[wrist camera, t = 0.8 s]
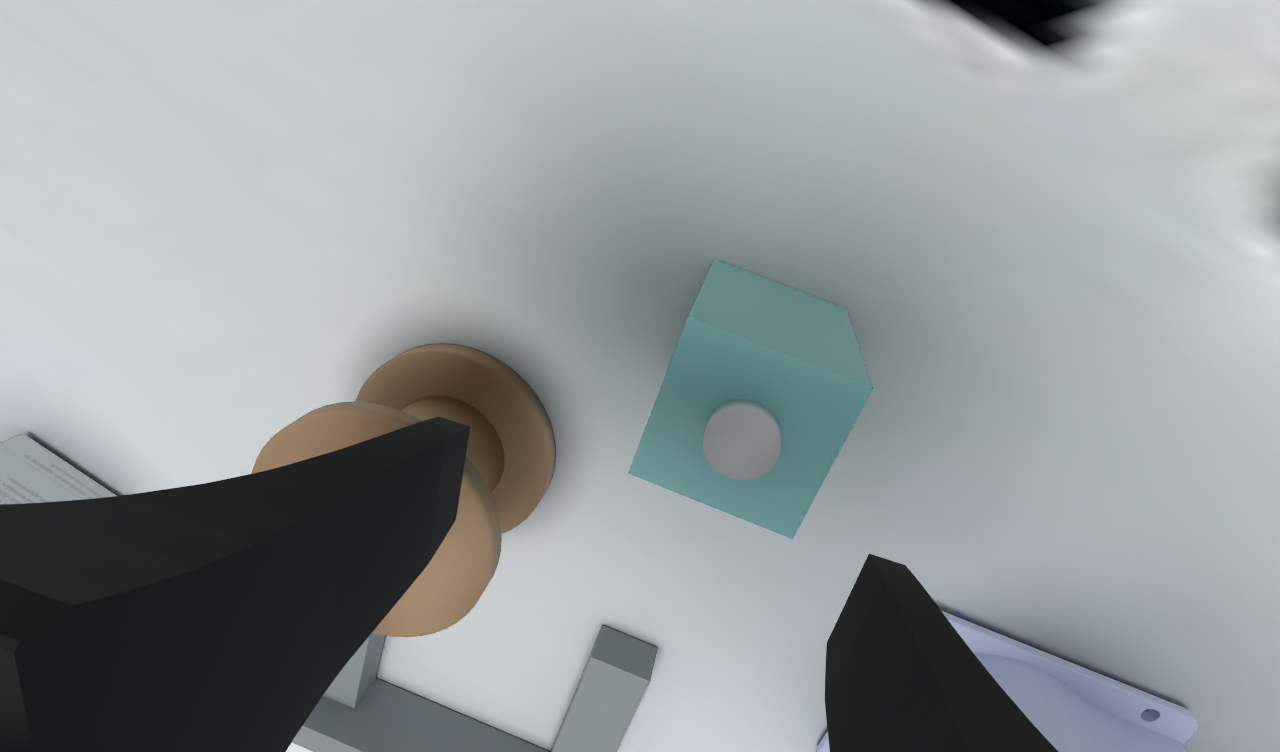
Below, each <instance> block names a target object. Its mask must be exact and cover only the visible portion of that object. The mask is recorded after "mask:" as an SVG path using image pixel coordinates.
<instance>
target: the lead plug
mask: <svg viewBox="0 0 1280 752" xmlns="http://www.w3.org/2000/svg"><path fill="white" fill-rule="evenodd" d="M872 389H873V387H872V384H871V381H870V378H869V375H868V372H867V369H866V366H865V363H864V360H863V357H862V354H861V351H860V348H859V345H858V342H857V339H856V336H855V333H854V330H853V327H852V324H851V321H850V318H849V315H848V312H847V309H846V308H844V307H841V306H838V305H836V304H833V303H830V302H828V301H825V300H823V299H820V298H817V297H815V296H812V295H809V294H807V293H804V292H801V291H799V290H796V289H793V288H791V287H788V286H786V285H783V284H780V283H778V282H775V281H772V280H770V279H767V278H764V277H762V276H759V275H756V274H754V273H751V272H749V271H746V270H743V269H741V268H738V267H735V266H733V265H730V264H727V263H725V262H722V261H719V260H717V259H714V261H713V263H712V265H711V267H710V269H709V272H708V274H707V276H706V278H705V280H704V283H703V285H702V287H701V289H700V291H699V294H698V296H697V298H696V300H695V302H694V305H693V307H692V309H691V311H690V313H689V316H688V318H687V321H686V323H685V326H684V328H683V331H682V334H681V336H680V339H679V342H678V344H677V347H676V349H675V352H674V355H673V357H672V360H671V362H670V365H669V368H668V370H667V373H666V376H665V378H664V381H663V383H662V386H661V389H660V391H659V394H658V397H657V399H656V402H655V404H654V407H653V410H652V412H651V415H650V417H649V420H648V423H647V425H646V428H645V431H644V433H643V436H642V438H641V441H640V444H639V446H638V449H637V452H636V454H635V457H634V459H633V462H632V465H631V467H630V470H629V472H628V473H629V474H632V475H634V476H637V477H639V478H642V479H644V480H647V481H649V482H652V483H654V484H657V485H659V486H662V487H664V488H667V489H669V490H672V491H674V492H677V493H679V494H682V495H684V496H687V497H689V498H692V499H694V500H697V501H699V502H702V503H704V504H707V505H709V506H712V507H714V508H717V509H719V510H722V511H724V512H727V513H729V514H732V515H734V516H737V517H739V518H742V519H744V520H747V521H749V522H752V523H754V524H757V525H759V526H762V527H764V528H767V529H769V530H772V531H774V532H777V533H779V534H782V535H784V536H787V537H789V538H792V539H793V537H794V535H795V533H796V532H797V530H798V528H799V526H800V524H801V522H802V520H803V518H804V517H805V515H806V513H807V511H808V509H809V507H810V505H811V503H812V501H813V500H814V498H815V496H816V494H817V492H818V490H819V488H820V486H821V485H822V483H823V481H824V479H825V477H826V475H827V473H828V471H829V470H830V468H831V466H832V464H833V462H834V460H835V458H836V456H837V455H838V453H839V451H840V449H841V447H842V445H843V443H844V441H845V440H846V438H847V436H848V434H849V432H850V430H851V428H852V426H853V425H854V423H855V421H856V419H857V417H858V415H859V413H860V411H861V410H862V408H863V406H864V404H865V402H866V400H867V398H868V396H869V395H870V393H871V391H872Z"/></svg>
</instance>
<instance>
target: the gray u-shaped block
mask: <svg viewBox="0 0 1280 752" xmlns="http://www.w3.org/2000/svg"><path fill="white" fill-rule="evenodd" d="M385 636H386V635H379V634H375V633H371V635H370V636H369V637H368V638H367V639H366V641H365V642H364V643H363V644H362V645H361V647H360V648H359V649H358V650H357V651H356V653H355V654H354V655H353V656H352V657H351V659H350V660H349V661H348V662H347V664H346V665H345V666H344V667H343V669H342V670H341V671H340V673H339V674H338V675H337V677H336V678H335V679H334V681H333V682H332V683H331V685H330V686H329V687H328V689H327V690H326V692H325V693H324V695H323V696H322V698H321V699H320V701H319V702H318V704H317V705H316V707H315V708H314V709H313V711H312V712H311V714H310V715H309V717H308V718H307V720H306V721H305V723H304V724H303V726H302V727H301V729H300V730H299V732H298V733H297V735H296V736H295V738H294V739H293V741H292V743H295V744H297V745H299V746H302V747H304V748H306V749H309V750H311V751H313V752H549V751H547V750H544V749H542V748H540V747H537V746H535V745H533V744H530V743H528V742H525V741H523V740H521V739H518V738H516V737H514V736H511V735H509V734H507V733H504V732H502V731H500V730H497V729H495V728H493V727H490V726H488V725H485V724H483V723H481V722H478V721H476V720H474V719H471V718H469V717H467V716H464V715H462V714H460V713H457V712H455V711H453V710H450V709H448V708H445V707H443V706H441V705H438V704H436V703H434V702H431V701H429V700H427V699H424V698H422V697H420V696H417V695H415V694H413V693H410V692H408V691H405V690H403V689H401V688H398V687H396V686H394V685H391V684H389V683H387V682H384V681H382V680H380V679H377V678H376V676H377V672H378V667H379V663H380V658H381V654H382V649H383V645H384V641H385ZM656 652H657V647H655V646H652V645H650V644H647V643H645V642H643V641H640V640H638V639H635V638H633V637H631V636H628V635H626V634H623V633H621V632H618V631H616V630H614V629H611V628H609V627H606V626H604V625H602V627H601V630H600V632H599V634H598V637H597V639H596V642H595V644H594V647H593V649H592V652H591V654H590V656H589V659H588V661H587V664H586V666H585V669H584V671H583V674H582V676H581V678H580V681H579V683H578V686H577V688H576V691H575V693H574V696H573V698H572V701H571V703H570V705H569V708H568V710H567V713H566V715H565V718H564V720H563V723H562V725H561V727H560V730H559V732H558V735H557V737H556V740H555V742H554V745H553V747H552V749H551V752H617V750H618V748H619V745H620V743H621V741H622V739H623V737H624V735H625V733H626V731H627V728H628V726H629V724H630V722H631V720H632V718H633V716H634V714H635V712H636V709H637V707H638V705H639V703H640V701H641V699H642V697H643V695H644V693H645V690H646V688H647V686H648V684H649V682H650V678H651V674H652V670H653V665H654V661H655V657H656Z"/></svg>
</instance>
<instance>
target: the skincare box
mask: <svg viewBox="0 0 1280 752" xmlns="http://www.w3.org/2000/svg"><path fill="white" fill-rule="evenodd" d="M114 496H117V495H115V494H114V493H112V492H111V491H109V490H108V489H106V488H105V487H103V486H102V485H100V484H99V483H97V482H96V481H94V480H93V479H91V478H90V477H88V476H87V475H85V474H83V473H82V472H81V471H79V470H78V469H76V468H75V467H73V466H72V465H70V464H69V463H67V462H66V461H64V460H63V459H61V458H60V457H58V456H57V455H55V454H54V453H52V452H51V451H49V450H48V449H46V448H45V447H43V446H42V445H40V444H39V443H37V442H35V441H34V440H32V439H31V438H29V437H28V436H26V435H24V434H20V435H17V436H15V437H12V438H10V439H8V440H5V441H3V442H1V443H0V504H25V503H43V502H57V501H70V500H84V499H94V498H104V497H114Z"/></svg>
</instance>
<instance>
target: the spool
mask: <svg viewBox="0 0 1280 752" xmlns="http://www.w3.org/2000/svg"><path fill="white" fill-rule="evenodd" d="M435 417H442V418H445V419H448V420H451V421H455V422H458V423H461V424H464V425H467V426H470V432H469V438H468V445H467V451H466V458H465V464H464V471H463V477H462V484H461V490H460V497H459V503H458V510H457V516H456V520H455V522H454V524H453V525H452V527H451V529H450V530H449V532H448V534H447V535H446V537H445V539H444V540H443V542H442V544H441V545H440V547H439V548H438V550H437V551H436V553H435V554H434V556H433V558H432V559H431V561H430V562H429V564H428V565H427V566H426V568H425V569H424V570H423V571H422V573H421V574H420V575H419V576H418V578H417V579H416V580H415V581H414V583H413V584H412V585H411V586H410V587H409V589H408V590H407V591H406V592H405V594H404V595H403V596H402V597H401V598H400V600H399V601H398V602H397V603H396V604H395V606H394V607H393V608H392V609H391V610H390V612H389V613H388V614H387V615H386V616H385V618H384V619H383V620H382V621H381V623H380V624H379V625H378V626H377V627H376V629H375V630H374V631H373V632H372V633H375V634H379V635H386V636H393V637H414V636H423V635H427V634H432V633H435V632H438V631H441V630H443V629H446V628H448V627H450V626H451V625H453V624H455V623H457V622H458V621H459V620H461V619H462V618H463V617H464V616H466V615H467V614H468V613H469V612H470V610H471V609H472V608H473V607H474V606H475V605H476V603H477V601H478V600H479V598H480V596H481V595H482V593H483V592H484V590H485V588H486V587H487V585H488V583H489V582H490V580H491V579H492V577H493V575H494V573H495V570H496V568H497V565H498V561H499V557H500V552H501V534H502V533H505V532H507V531H509V530H511V529H513V528H514V527H516V526H518V525H519V524H520V523H522V522H523V521H524V520H525V519H526V518H527V517H528V516H529V515H530V514H531V513H532V512H533V510H534V509H535V508H536V506H537V504H538V503H539V501H540V500H541V498H542V496H543V495H544V493H545V491H546V490H547V488H548V486H549V484H550V481H551V479H552V476H553V471H554V467H555V458H556V450H555V440H554V434H553V430H552V427H551V424H550V421H549V418H548V416H547V414H546V411H545V409H544V407H543V405H542V404H541V402H540V401H539V399H538V397H537V396H536V394H535V393H534V392H533V391H532V389H531V388H530V387H529V386H528V384H527V383H526V382H525V381H524V380H523V379H522V378H521V377H520V376H519V375H518V374H517V373H515V372H514V371H513V370H511V369H510V368H509V367H508V366H506V365H505V364H503V363H502V362H500V361H499V360H497V359H495V358H494V357H492V356H489V355H487V354H485V353H483V352H481V351H478V350H475V349H472V348H469V347H465V346H459V345H454V344H429V345H424V346H419V347H415V348H413V349H410V350H408V351H405V352H403V353H402V354H400V355H398V356H396V357H395V358H393V359H392V360H390V361H388V362H387V363H385V364H384V365H382V366H381V367H380V368H379V369H377V370H376V371H375V372H374V373H373V374H372V375H371V376H370V377H369V378H368V379H367V381H366V382H365V384H364V385H363V387H362V388H361V390H360V392H359V394H358V397H357V399H356V402H342V403H336V404H331V405H326V406H323V407H320V408H318V409H315V410H313V411H311V412H309V413H307V414H306V415H304V416H302V417H300V418H299V419H297V420H296V421H294V422H293V423H291V424H289V425H288V426H286V427H285V428H283V429H282V430H280V431H279V432H278V433H277V434H275V435H274V436H273V437H272V438H271V439H270V440H269V441H268V442H267V444H266V445H265V446H264V447H263V449H262V450H261V452H260V454H259V456H258V457H257V459H256V462H255V465H254V468H253V470H252V474H254V473H258V472H262V471H266V470H270V469H274V468H278V467H282V466H285V465H289V464H292V463H296V462H299V461H302V460H306V459H309V458H313V457H316V456H319V455H323V454H326V453H329V452H333V451H336V450H339V449H343V448H346V447H349V446H351V445H354V444H357V443H360V442H363V441H366V440H369V439H372V438H375V437H378V436H381V435H384V434H386V433H389V432H392V431H395V430H398V429H401V428H404V427H406V426H409V425H412V424H415V423H418V422H421V421H424V420H428V419H431V418H435Z"/></svg>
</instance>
